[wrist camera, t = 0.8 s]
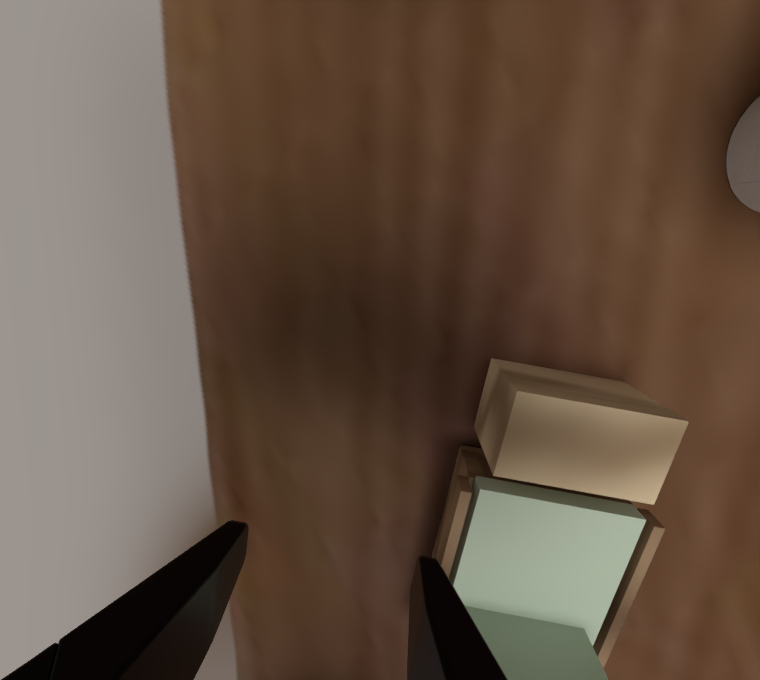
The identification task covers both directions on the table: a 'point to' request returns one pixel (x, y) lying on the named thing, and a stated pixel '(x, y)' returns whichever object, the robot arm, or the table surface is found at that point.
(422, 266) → the table surface
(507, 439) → the block
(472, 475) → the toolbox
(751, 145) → the dixie cup
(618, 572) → the lid
